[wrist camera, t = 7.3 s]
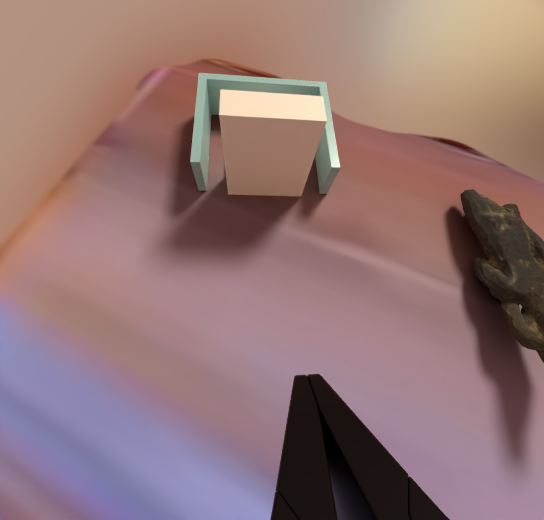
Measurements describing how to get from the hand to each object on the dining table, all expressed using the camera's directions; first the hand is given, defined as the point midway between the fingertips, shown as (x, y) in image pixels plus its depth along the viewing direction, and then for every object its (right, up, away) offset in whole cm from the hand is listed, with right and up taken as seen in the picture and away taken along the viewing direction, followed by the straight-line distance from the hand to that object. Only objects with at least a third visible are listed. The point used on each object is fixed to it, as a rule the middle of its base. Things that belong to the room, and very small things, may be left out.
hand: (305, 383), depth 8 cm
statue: (+21, +2, +17) cm, 27 cm away
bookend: (-2, +15, +19) cm, 24 cm away
